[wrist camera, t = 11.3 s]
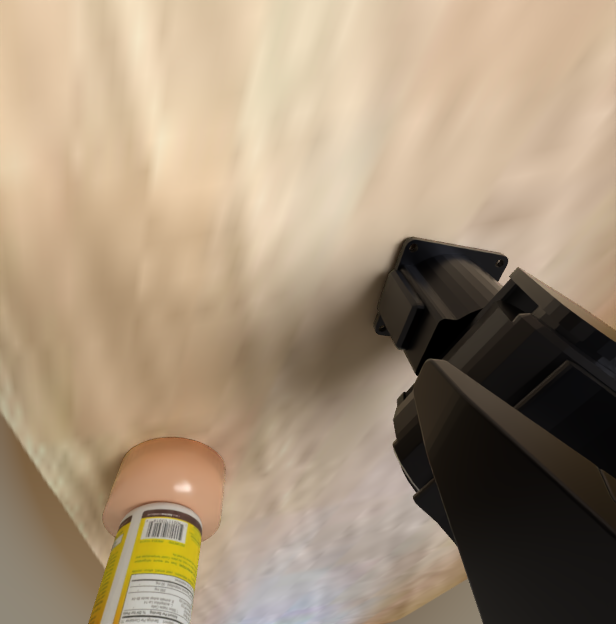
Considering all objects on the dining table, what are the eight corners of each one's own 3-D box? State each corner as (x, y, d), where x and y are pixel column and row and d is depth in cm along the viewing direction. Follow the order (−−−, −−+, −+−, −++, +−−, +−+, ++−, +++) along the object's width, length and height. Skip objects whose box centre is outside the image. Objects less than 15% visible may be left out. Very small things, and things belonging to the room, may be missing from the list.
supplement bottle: (145, 547, 28) (93, 756, 19) (106, 509, 25) (23, 736, 16) (216, 530, 28) (194, 735, 19) (184, 490, 25) (142, 710, 16)
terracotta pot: (230, 440, 29) (226, 490, 25) (220, 501, 33) (215, 550, 29) (119, 434, 27) (97, 485, 24) (123, 498, 31) (105, 550, 28)
